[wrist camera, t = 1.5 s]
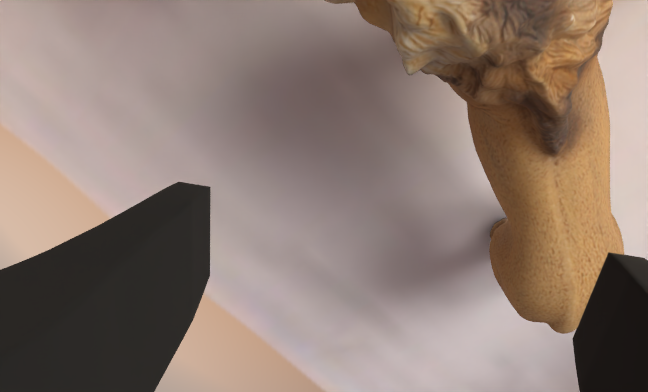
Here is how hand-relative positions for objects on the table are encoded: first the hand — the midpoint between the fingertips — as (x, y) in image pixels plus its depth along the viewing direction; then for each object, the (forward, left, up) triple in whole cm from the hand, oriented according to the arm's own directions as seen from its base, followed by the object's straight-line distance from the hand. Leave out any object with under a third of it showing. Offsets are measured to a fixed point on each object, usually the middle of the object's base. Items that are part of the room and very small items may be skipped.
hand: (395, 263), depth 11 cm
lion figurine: (-2, -1, -10) cm, 10 cm away
